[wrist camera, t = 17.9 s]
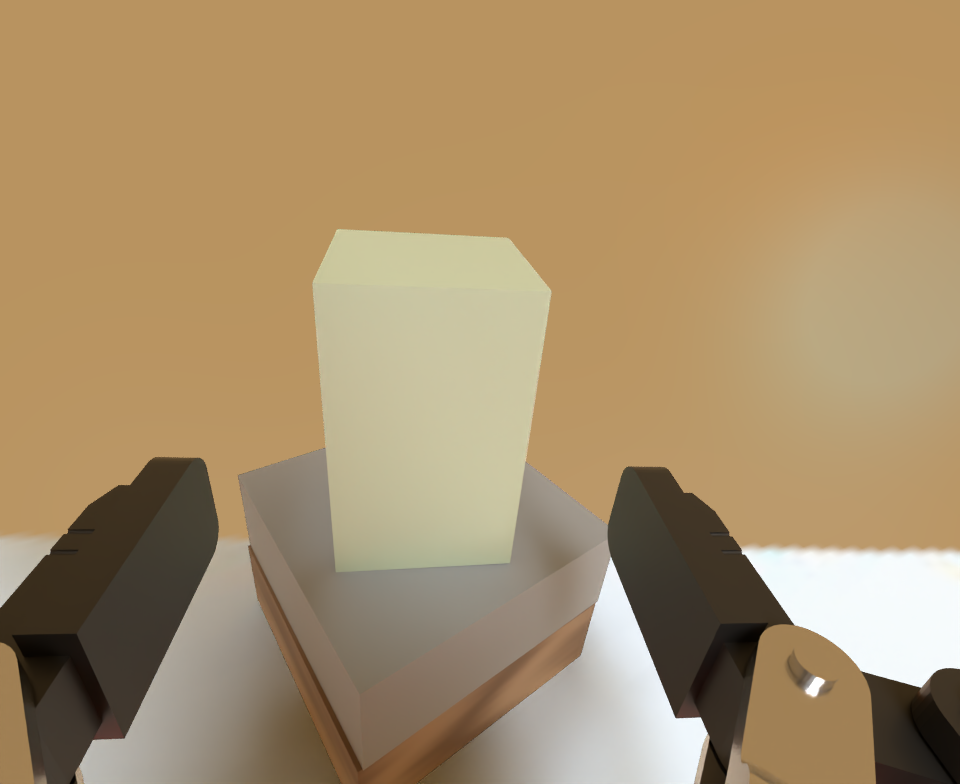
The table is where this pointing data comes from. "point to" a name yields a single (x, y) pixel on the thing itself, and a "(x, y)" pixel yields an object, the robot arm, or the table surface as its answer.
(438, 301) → the sage block
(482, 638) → the tower top block
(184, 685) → the table surface
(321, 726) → the tower base block
